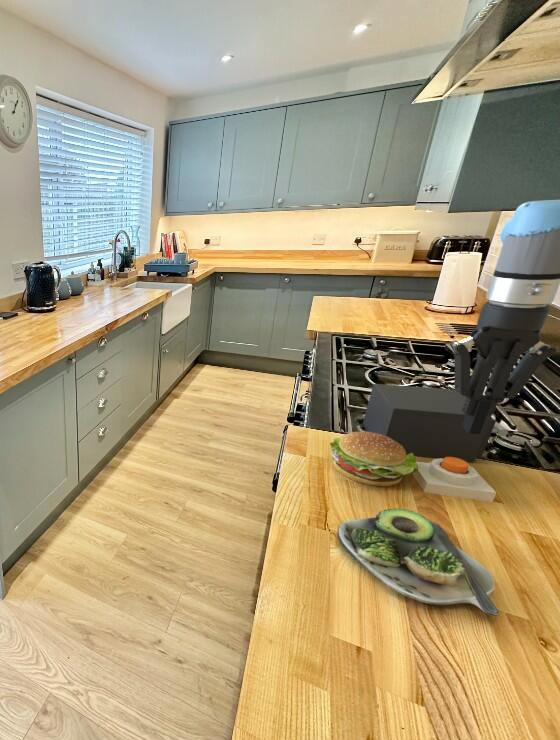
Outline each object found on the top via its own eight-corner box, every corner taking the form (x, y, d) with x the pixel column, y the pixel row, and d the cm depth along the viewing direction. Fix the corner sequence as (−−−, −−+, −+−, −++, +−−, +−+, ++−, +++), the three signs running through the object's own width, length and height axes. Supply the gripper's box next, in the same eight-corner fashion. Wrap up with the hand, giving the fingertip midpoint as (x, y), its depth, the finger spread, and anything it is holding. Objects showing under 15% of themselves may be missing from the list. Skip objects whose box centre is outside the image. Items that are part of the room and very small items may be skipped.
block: (469, 477, 83) (476, 460, 81) (492, 502, 76) (500, 484, 75) (408, 469, 86) (413, 453, 85) (424, 492, 80) (430, 475, 78)
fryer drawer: (475, 432, 96) (488, 397, 93) (508, 462, 85) (524, 423, 82) (376, 422, 103) (385, 389, 99) (395, 448, 92) (406, 412, 88)
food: (335, 486, 83) (344, 452, 80) (321, 450, 95) (328, 419, 92) (421, 499, 78) (434, 463, 75) (394, 459, 90) (404, 426, 87)
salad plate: (547, 616, 55) (562, 591, 54) (422, 633, 54) (433, 608, 53) (416, 519, 73) (423, 497, 72) (320, 530, 72) (325, 508, 70)
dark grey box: (442, 431, 99) (457, 389, 95) (473, 463, 87) (492, 416, 83) (362, 423, 105) (373, 383, 100) (381, 452, 93) (394, 408, 88)
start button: (460, 465, 81) (463, 458, 80) (470, 476, 78) (473, 468, 77) (437, 463, 82) (440, 455, 81) (445, 473, 79) (448, 465, 78)
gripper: (477, 307, 67) (434, 436, 76) (589, 308, 62) (530, 445, 71) (454, 298, 73) (418, 417, 82) (555, 298, 68) (505, 424, 77)
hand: (470, 430), depth 77 cm, fingers closed
